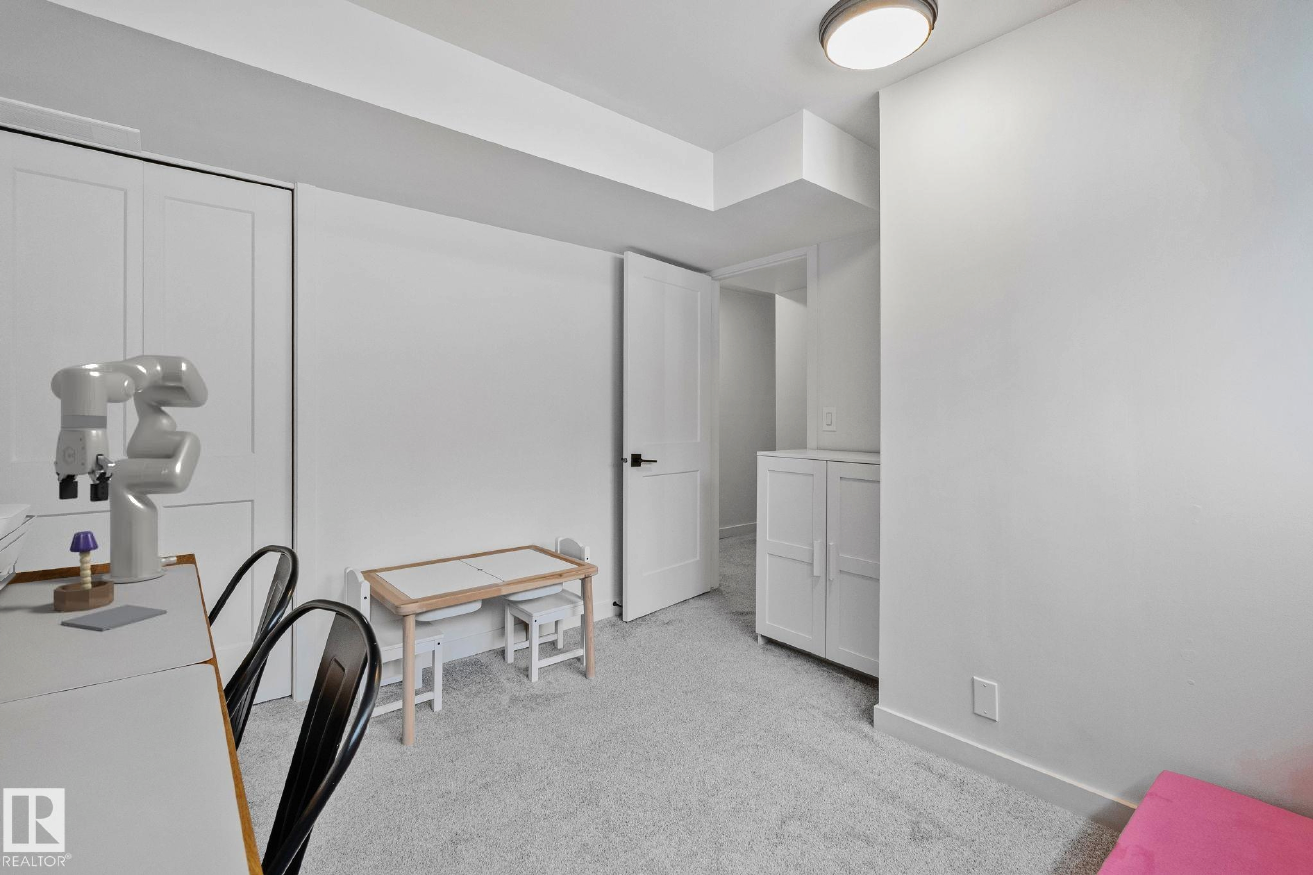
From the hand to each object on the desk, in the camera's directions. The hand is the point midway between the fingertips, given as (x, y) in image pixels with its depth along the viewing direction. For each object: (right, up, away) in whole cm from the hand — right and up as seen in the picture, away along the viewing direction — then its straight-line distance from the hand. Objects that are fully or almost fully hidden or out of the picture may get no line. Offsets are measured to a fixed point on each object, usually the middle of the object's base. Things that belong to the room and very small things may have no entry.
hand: (83, 499), depth 134 cm
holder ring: (-1, -24, +1) cm, 24 cm away
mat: (+14, -25, -7) cm, 29 cm away
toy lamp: (-1, -24, +1) cm, 24 cm away
